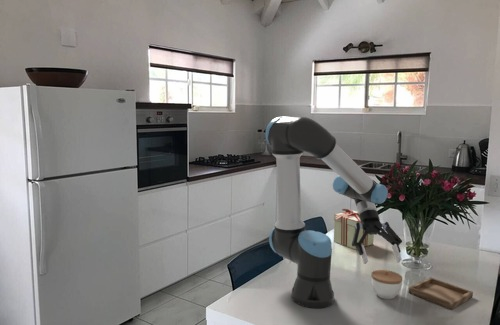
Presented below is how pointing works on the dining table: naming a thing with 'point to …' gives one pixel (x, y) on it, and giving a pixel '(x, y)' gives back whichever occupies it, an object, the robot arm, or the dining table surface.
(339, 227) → the gift box
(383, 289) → the lidded jar
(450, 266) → the dining table surface
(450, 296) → the walnut tray
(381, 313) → the dining table surface
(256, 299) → the dining table surface
